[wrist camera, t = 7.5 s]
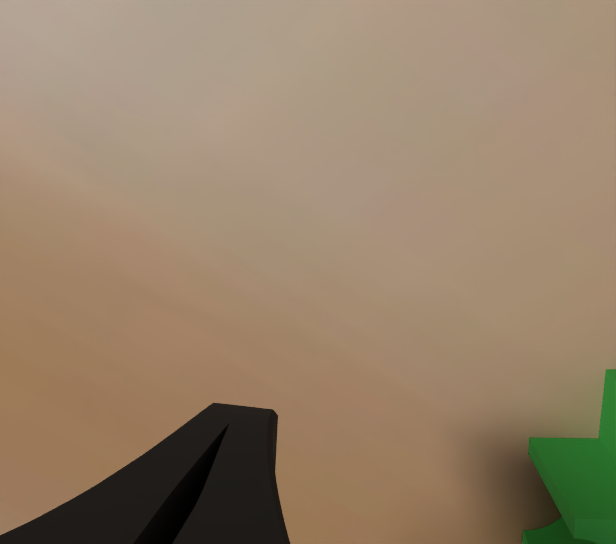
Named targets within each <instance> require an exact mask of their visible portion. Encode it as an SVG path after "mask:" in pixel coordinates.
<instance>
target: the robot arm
mask: <svg viewBox="0 0 616 544" xmlns="http://www.w3.org/2000/svg"><path fill="white" fill-rule="evenodd" d="M277 423H278V415H277V414H276V413H275V412H274V410H272V409H264V408H255V407H246V406H237V405H229V404H220V403H213V404H211V405H210V406H208V407H207V408H206V409H204V410H203V411H202V412H200V413H199V414H198V415H196V416H195V417H194V418H192V419H191V420H190V421H188V422H187V423H186V424H184V425H183V426H182V427H180V428H179V429H178V430H176V431H175V432H174V433H172V434H171V435H170V436H168V437H167V438H165V439H164V440H163V441H161V442H160V443H159V444H157V445H156V446H154V447H153V448H152V449H150V450H149V451H148V452H146V453H145V454H143V455H142V456H140V457H139V458H137V459H136V460H134V461H133V462H131V463H129V464H128V465H126V466H125V467H123V468H122V469H120V470H119V471H117V472H116V473H114V474H113V475H111V476H110V477H108V478H106V479H105V480H103V481H102V482H100V483H99V484H97V485H95V486H94V487H92V488H90V489H89V490H87V491H85V492H84V493H82V494H80V495H78V496H77V497H75V498H73V499H72V500H70V501H68V502H66V503H64V504H62V505H60V506H59V507H57V508H55V509H53V510H51V511H49V512H47V513H46V514H44V515H42V516H40V517H38V518H36V519H34V520H32V521H30V522H28V523H26V524H24V525H22V526H20V527H17V528H15V529H13V530H11V531H9V532H7V533H5V534H2V535H0V544H290V541H289V538H288V534H287V530H286V527H285V522H284V518H283V514H282V509H281V505H280V500H279V495H278V489H277V483H276V476H275V462H276V443H277Z"/></svg>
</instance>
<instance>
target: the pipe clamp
mask: <svg viewBox="0 0 616 544" xmlns="http://www.w3.org/2000/svg"><path fill="white" fill-rule="evenodd" d="M528 454H529V456H530V458H531V460H532V462H533V464H534V465H535V467H536V469H537V471H538V473H539V475H540V477H541V478H542V480H543V482H544V484H545V486H546V488H547V490H548V491H549V493H550V495H551V497H552V499H553V501H554V503H555V504H556V506H557V508H558V510H559V512H560V514H561V516H562V517H561V518H560V519H558V520H557V521H555V522H554V523H552V524H550V525H548V526H546V527H543V528H540V529H535V530H523V539H522V544H616V369H610V370H606V375H605V384H604V393H603V402H602V411H601V420H600V430H599V439H590V438H529V451H528Z"/></svg>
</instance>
